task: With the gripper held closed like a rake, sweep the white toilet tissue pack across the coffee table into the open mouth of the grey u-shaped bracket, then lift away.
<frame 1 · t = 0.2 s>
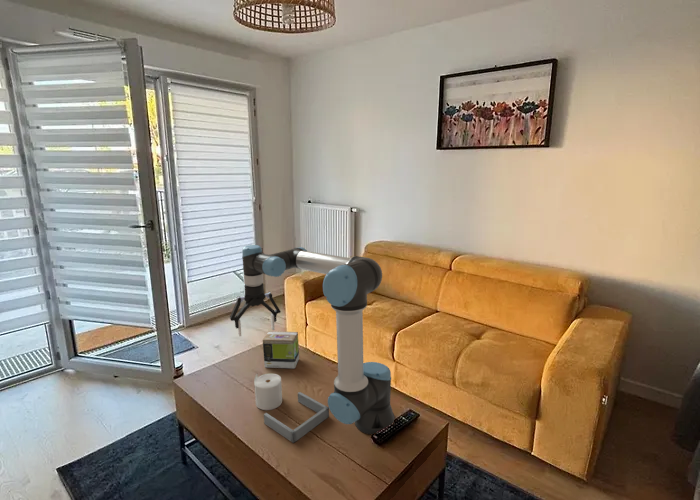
hand: (256, 331, 161), 27 cm above the table, fingers open, 13 cm apart
toilet tissue: (267, 402, 159), on the table
tea box: (282, 363, 189), on the table
grey u-shaped bracket: (295, 419, 148), on the table
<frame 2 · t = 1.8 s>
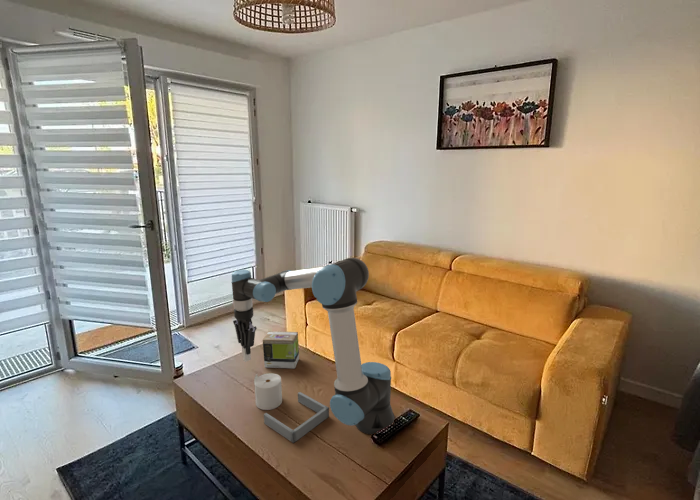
hand: (247, 360, 163), 15 cm above the table, fingers closed
nothing on the table moved.
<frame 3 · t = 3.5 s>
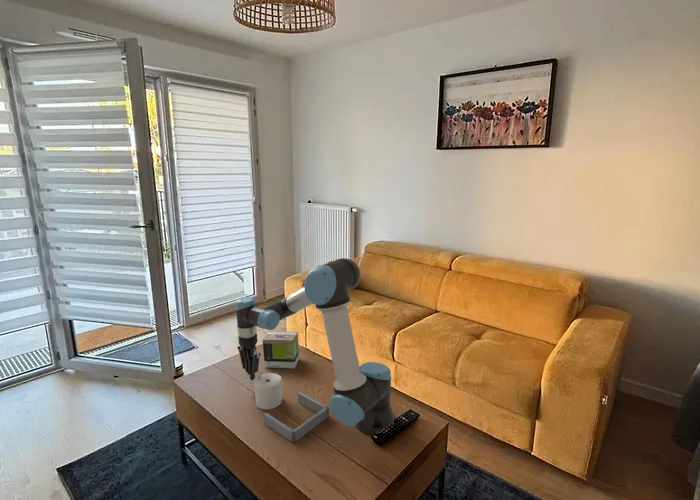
hand: (251, 385, 165), 3 cm above the table, fingers closed
toilet tissue: (267, 402, 159), on the table, touching gripper
everything else where it was.
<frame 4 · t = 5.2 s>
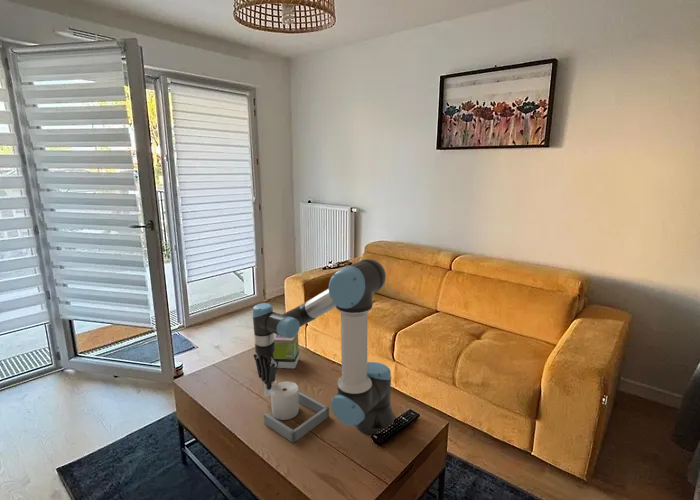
hand: (267, 395, 158), 3 cm above the table, fingers closed
toilet tissue: (284, 411, 153), on the table, touching gripper
everything else where it was.
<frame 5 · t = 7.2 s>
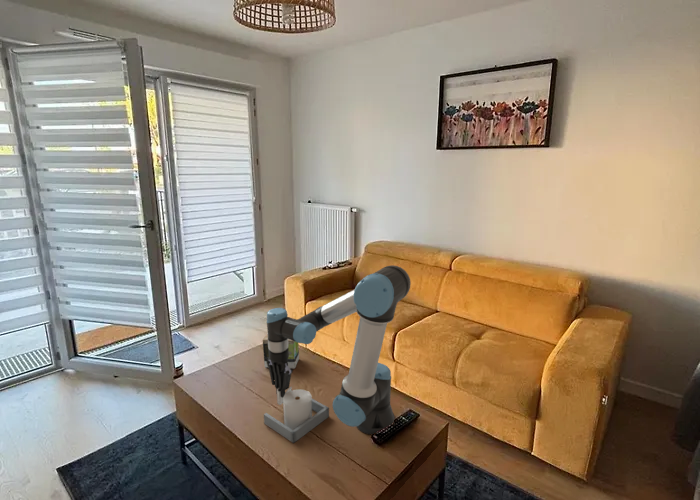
hand: (281, 402, 153), 4 cm above the table, fingers closed
toilet tissue: (296, 420, 148), on the table, touching gripper
everything else where it was.
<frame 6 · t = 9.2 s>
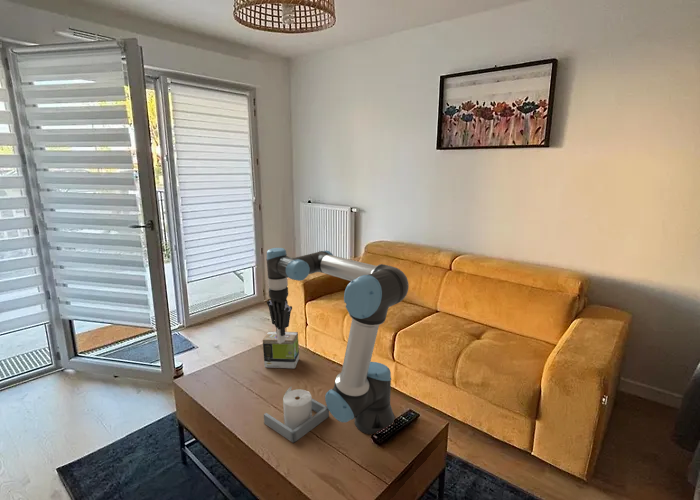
hand: (281, 341, 158), 24 cm above the table, fingers closed
toilet tissue: (296, 420, 148), on the table
everything else where it was.
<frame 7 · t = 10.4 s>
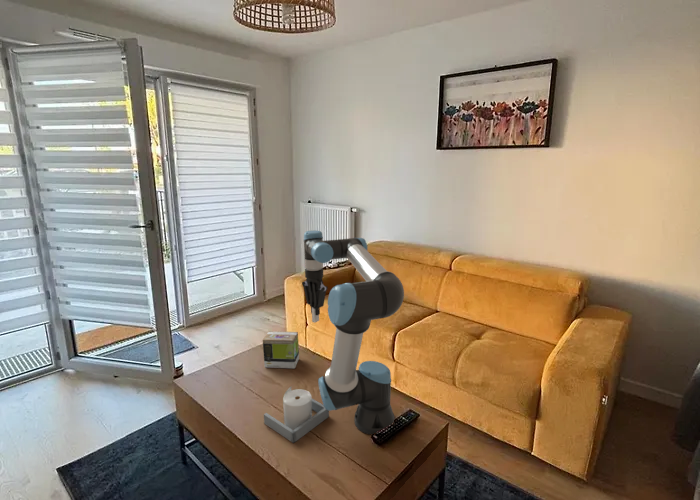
hand: (315, 321, 165), 29 cm above the table, fingers closed
nothing on the table moved.
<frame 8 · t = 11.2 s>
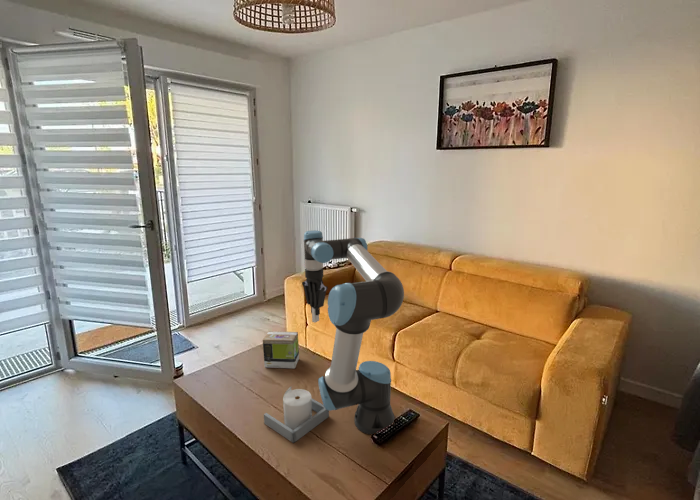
hand: (315, 321, 165), 29 cm above the table, fingers closed
nothing on the table moved.
at the end: toilet tissue inside the target area on the grey u-shaped bracket (0.7 cm from its centre), point 0.0 cm above the grey u-shaped bracket's base; toilet tissue tilted 0° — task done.
